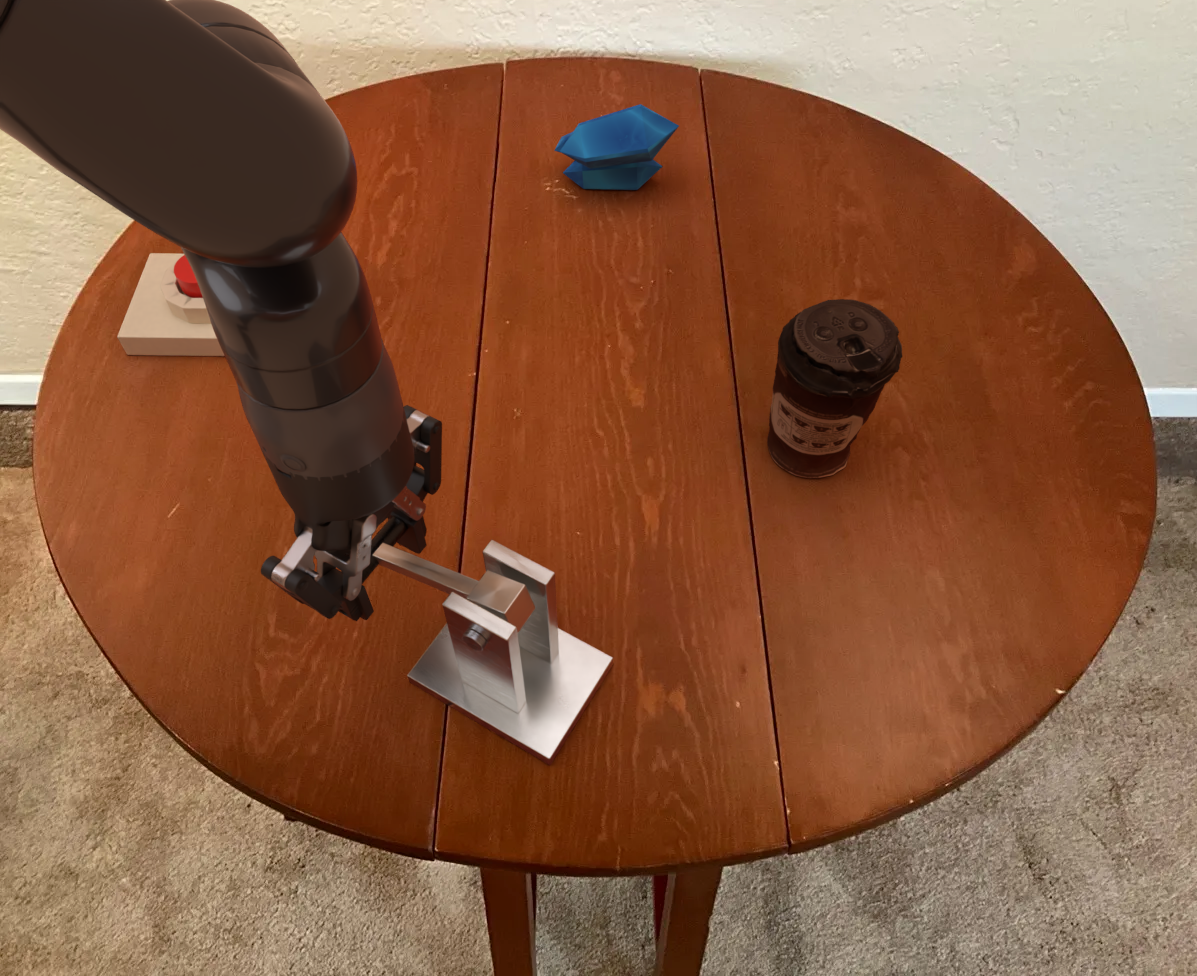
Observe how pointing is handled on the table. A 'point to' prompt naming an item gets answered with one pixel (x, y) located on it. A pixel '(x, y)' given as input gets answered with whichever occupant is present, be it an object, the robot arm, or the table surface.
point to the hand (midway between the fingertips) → (384, 576)
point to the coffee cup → (828, 383)
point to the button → (187, 278)
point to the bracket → (513, 663)
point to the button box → (166, 315)
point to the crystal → (616, 149)
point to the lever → (451, 577)
